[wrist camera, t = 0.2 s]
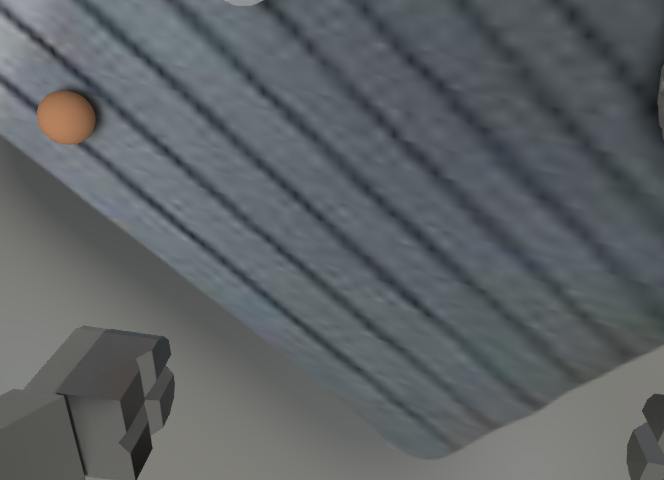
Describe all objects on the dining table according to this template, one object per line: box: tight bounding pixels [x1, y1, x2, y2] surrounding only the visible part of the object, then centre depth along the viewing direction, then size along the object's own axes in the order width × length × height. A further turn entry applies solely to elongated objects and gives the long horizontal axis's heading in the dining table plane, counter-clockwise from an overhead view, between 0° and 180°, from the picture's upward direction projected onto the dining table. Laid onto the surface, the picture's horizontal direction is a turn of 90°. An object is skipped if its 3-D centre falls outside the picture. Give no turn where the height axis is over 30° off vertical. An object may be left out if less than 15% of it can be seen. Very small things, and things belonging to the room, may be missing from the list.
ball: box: [37, 91, 96, 145], centre depth 56 cm, size 6×6×6 cm
